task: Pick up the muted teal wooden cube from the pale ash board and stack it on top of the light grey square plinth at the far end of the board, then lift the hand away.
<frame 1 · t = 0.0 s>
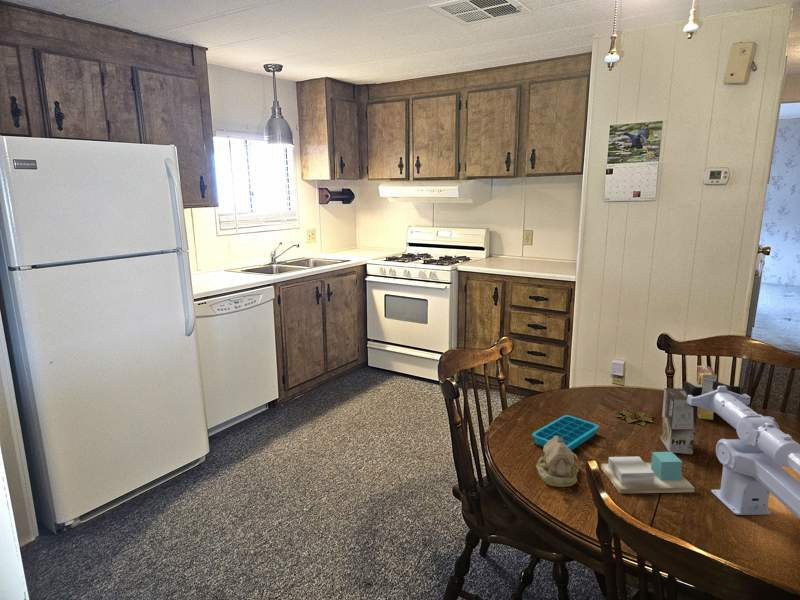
hand: (699, 384, 133), 22 cm above the table, tool horizontal, fingers open, 7 cm apart
ice cube tray: (565, 440, 151), on the table
candy box: (702, 414, 166), on the table
coffee box: (676, 446, 145), on the table
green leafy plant: (635, 420, 164), on the table
ceramic model: (558, 473, 133), on the table
teal cube: (665, 474, 128), point 1 cm above the table, touching stacking base
stacking base: (645, 479, 129), on the table
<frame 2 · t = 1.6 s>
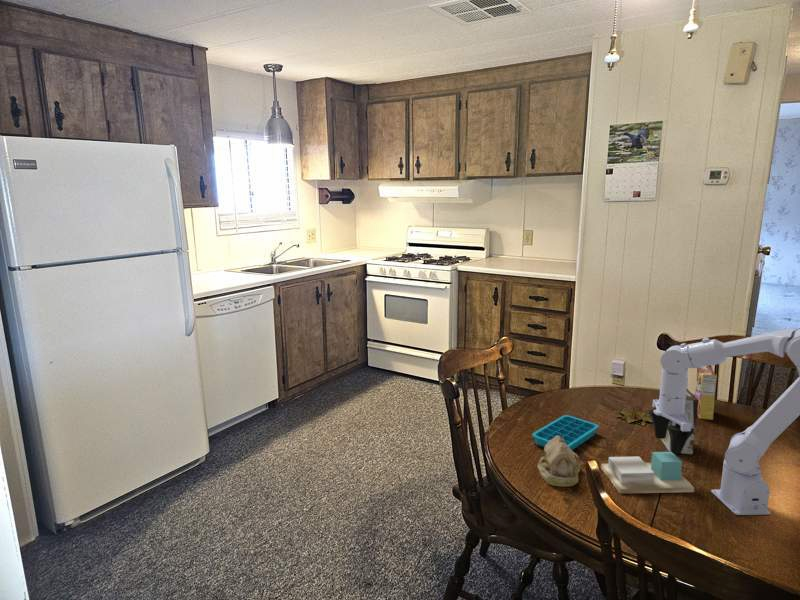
hand: (667, 445, 127), 9 cm above the table, tool pointing down, fingers open, 7 cm apart
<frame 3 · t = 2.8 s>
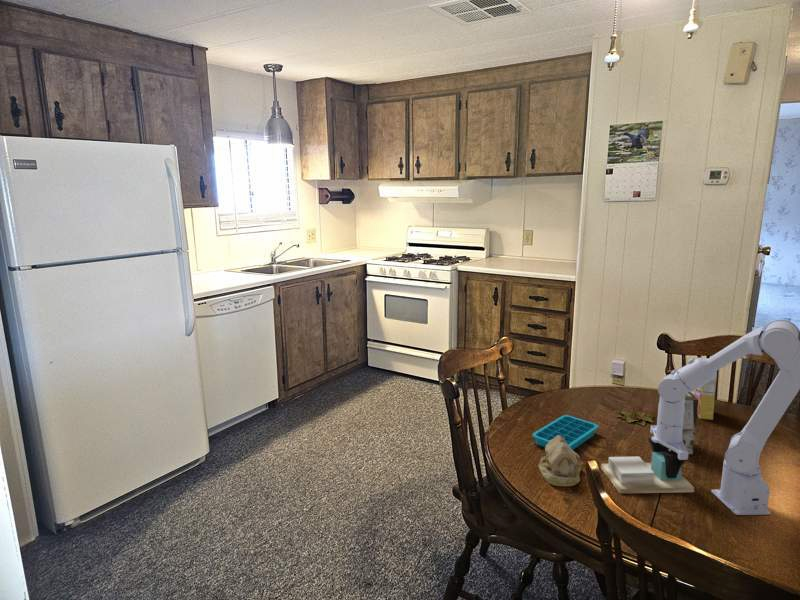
hand: (665, 471, 128), 2 cm above the table, tool pointing down, fingers closed on teal cube, 5 cm apart
teal cube: (665, 474, 128), point 1 cm above the table, touching gripper, stacking base
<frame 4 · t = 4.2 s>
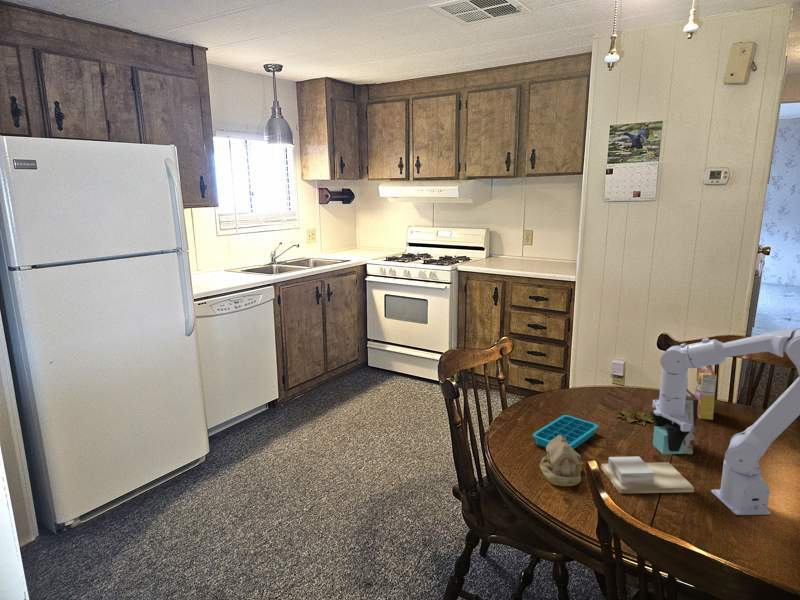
hand: (668, 445, 127), 9 cm above the table, tool pointing down, fingers closed on teal cube, 5 cm apart
teal cube: (667, 448, 127), point 8 cm above the table, touching gripper
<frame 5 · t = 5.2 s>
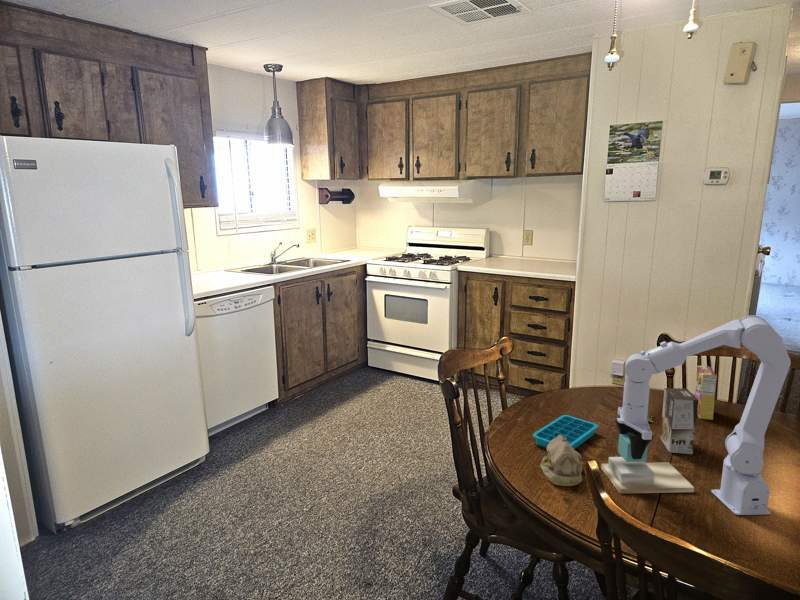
hand: (631, 452, 127), 7 cm above the table, tool pointing down, fingers closed on teal cube, 5 cm apart
teal cube: (631, 456, 127), point 6 cm above the table, touching gripper
when the fingers open (6 cm above the table, at t = 5.9 s): teal cube stays where it is, resting on stacking base.
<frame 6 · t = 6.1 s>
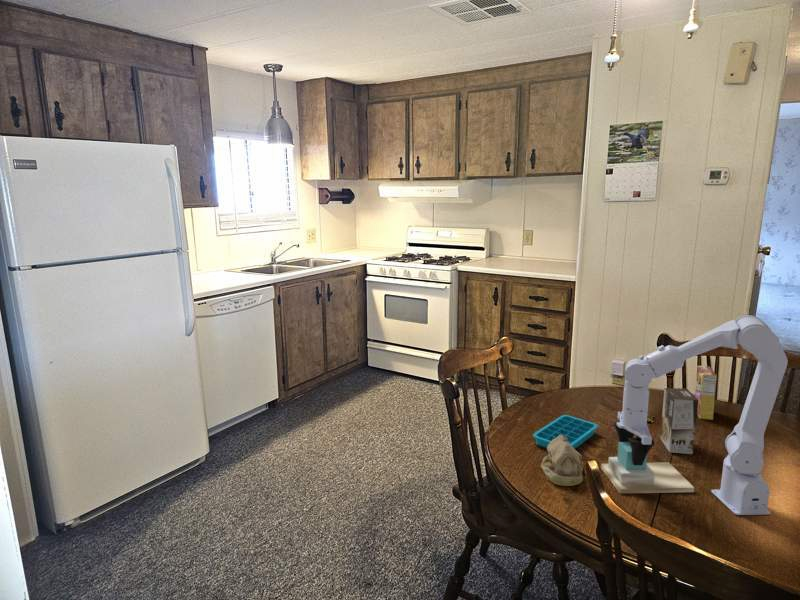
hand: (631, 457, 128), 6 cm above the table, tool pointing down, fingers open, 6 cm apart
teal cube: (631, 464, 128), point 4 cm above the table, touching stacking base
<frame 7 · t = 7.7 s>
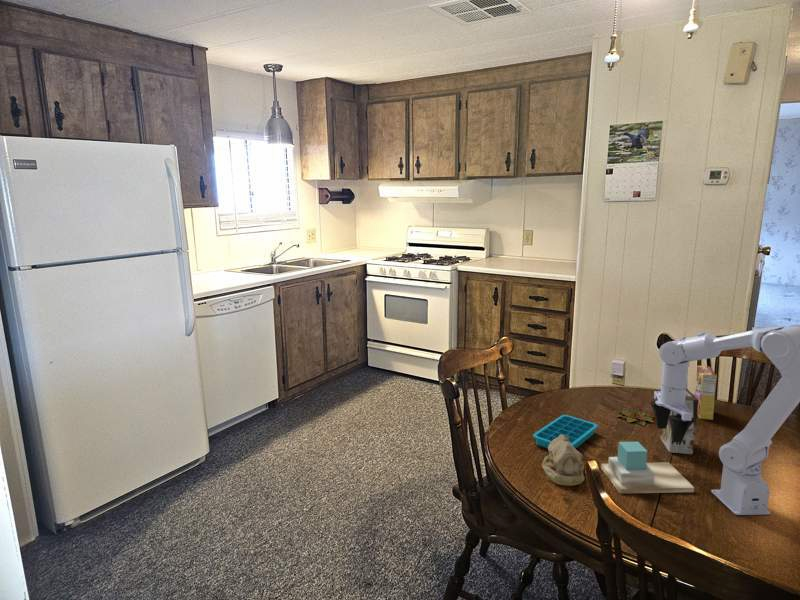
hand: (669, 434, 132), 9 cm above the table, tool pointing down, fingers open, 7 cm apart
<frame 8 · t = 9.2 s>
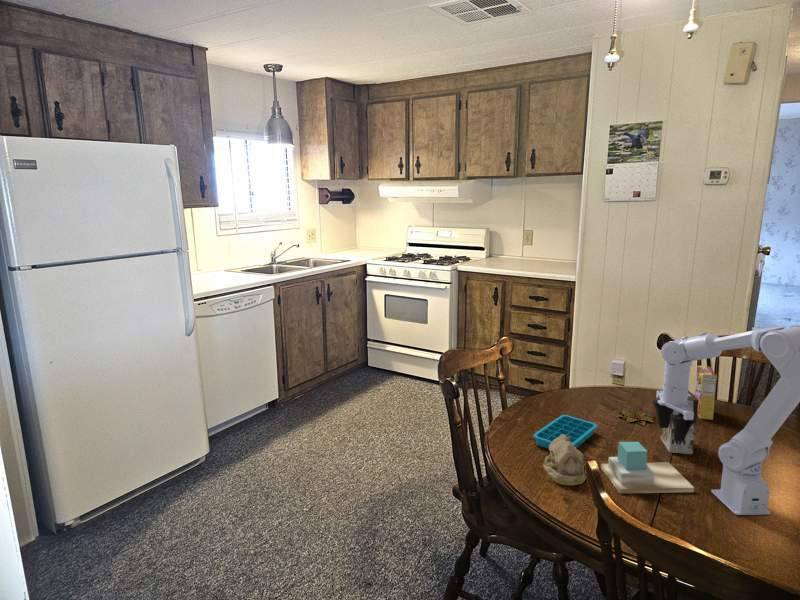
hand: (671, 433, 133), 9 cm above the table, tool pointing down, fingers open, 7 cm apart
at the end: teal cube 0.2 cm from the target spot on the stacking base, point 4.2 cm above the stacking base's base; teal cube tilted 0°; the gripper is holding nothing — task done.
